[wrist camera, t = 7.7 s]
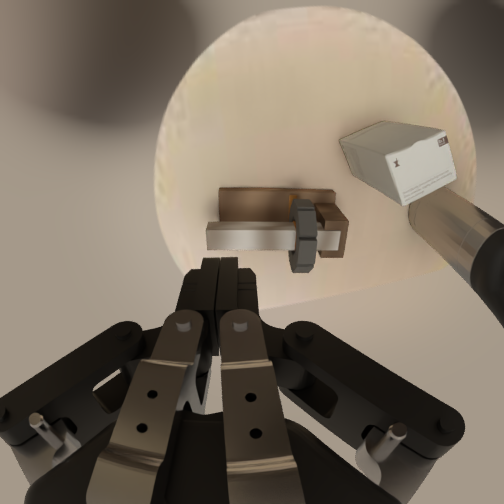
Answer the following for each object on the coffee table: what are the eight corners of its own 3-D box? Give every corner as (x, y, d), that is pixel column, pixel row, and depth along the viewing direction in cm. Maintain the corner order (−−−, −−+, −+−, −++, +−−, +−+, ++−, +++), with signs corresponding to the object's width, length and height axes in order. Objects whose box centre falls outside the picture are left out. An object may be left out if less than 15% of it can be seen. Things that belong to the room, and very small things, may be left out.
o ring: (305, 192, 38) (320, 216, 30) (300, 250, 42) (311, 284, 34) (290, 192, 38) (301, 216, 30) (286, 250, 42) (295, 285, 34)
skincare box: (352, 175, 39) (399, 212, 26) (336, 137, 37) (382, 157, 24) (399, 154, 38) (459, 182, 25) (386, 116, 35) (448, 129, 22)
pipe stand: (332, 190, 40) (351, 210, 33) (326, 240, 44) (342, 269, 37) (212, 188, 40) (204, 208, 33) (214, 239, 44) (208, 269, 37)
